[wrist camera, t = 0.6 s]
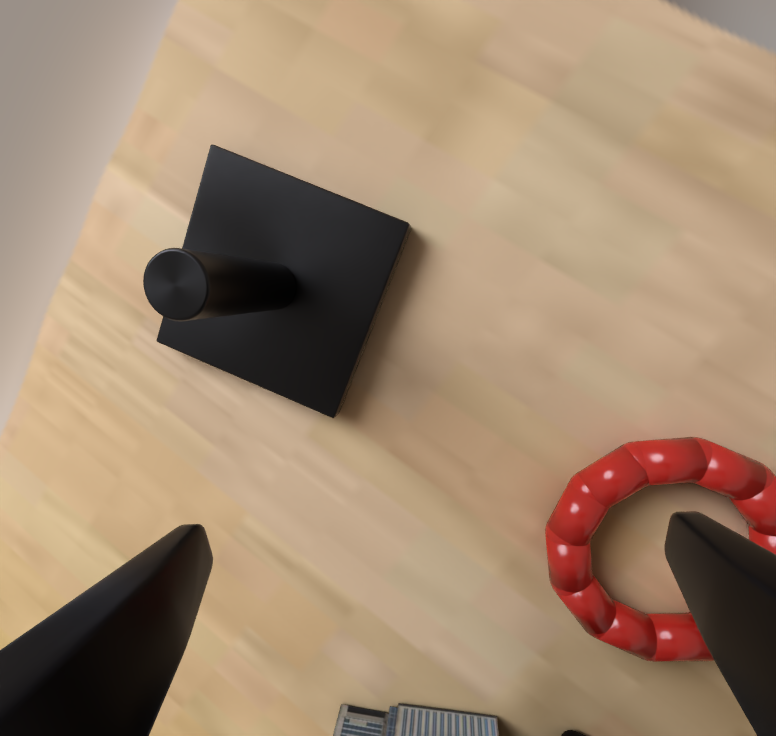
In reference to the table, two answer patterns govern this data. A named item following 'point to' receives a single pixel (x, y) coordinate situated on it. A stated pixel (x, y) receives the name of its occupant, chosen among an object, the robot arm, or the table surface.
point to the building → (413, 722)
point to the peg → (275, 280)
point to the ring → (619, 481)
